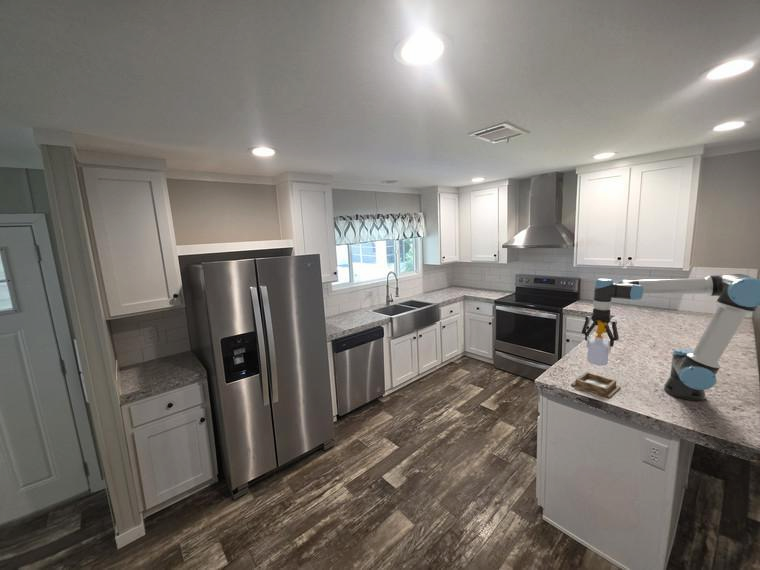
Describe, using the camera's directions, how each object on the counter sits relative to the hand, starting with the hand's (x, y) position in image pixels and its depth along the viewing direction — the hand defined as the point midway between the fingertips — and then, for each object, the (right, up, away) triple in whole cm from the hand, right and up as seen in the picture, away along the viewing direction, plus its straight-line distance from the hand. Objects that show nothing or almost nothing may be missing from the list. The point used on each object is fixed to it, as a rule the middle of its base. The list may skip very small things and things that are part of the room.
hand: (598, 349), depth 167 cm
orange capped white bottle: (0, -8, +1) cm, 8 cm away
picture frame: (+1, -21, +3) cm, 21 cm away
